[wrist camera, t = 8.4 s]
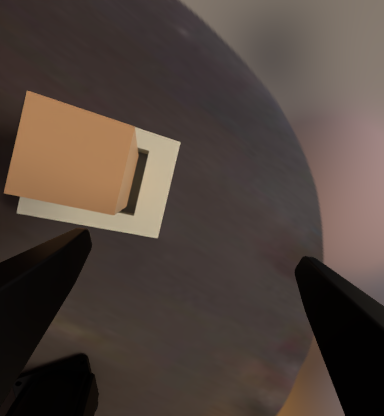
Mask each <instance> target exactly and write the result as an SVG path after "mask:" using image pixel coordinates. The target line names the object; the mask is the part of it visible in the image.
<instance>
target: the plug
mask: <svg viewBox="0 0 384 416" xmlns="http://www.w3.org/2000/svg"><path fill="white" fill-rule="evenodd" d="M138 156H139V155H138V147H137V139H136V131H135V127H134V126H131V125H128V124H125V123H122V122H119V121H116V120H113V119H110V118H107V117H104V116H102V115H99V114H96V113H93V112H90V111H87V110H84V109H81V108H78V107H75V106H72V105H69V104H66V103H63V102H60V101H57V100H54V99H51V98H48V97H45V96H42V95H39V94H36V93H33V92H30V91H27V94H26V98H25V102H24V107H23V111H22V115H21V120H20V124H19V128H18V133H17V137H16V141H15V146H14V150H13V155H12V159H11V163H10V168H9V172H8V176H7V181H6V185H5V189H4V193H5V194H10V195H15V196H20V197H25V198H30V199H35V200H40V201H45V202H50V203H55V204H60V205H65V206H69V207H74V208H79V209H84V210H89V211H94V212H99V213H104V214H109V215H115V214H117V213H118V212H119V211H121V210H122V209H124V208H125V207H126V206H127V202H128V198H129V194H130V190H131V186H132V181H133V177H134V173H135V169H136V165H137V160H138Z"/></svg>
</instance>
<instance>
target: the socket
mask: <svg viewBox="0 0 384 416" xmlns="http://www.w3.org/2000/svg"><path fill="white" fill-rule="evenodd" d="M135 131H136V139H137V147H138V155H139V156H138V160H137V165H136V169H135V173H134V177H133V181H132V186H131V190H130V194H129V198H128V202H127V206H126V207H125V208H124V209H122V210H121V211H119V212H118V213H117V214H115V215H109V214H104V213H99V212H94V211H89V210H84V209H79V208H74V207H69V206H65V205H60V204H55V203H50V202H45V201H40V200H35V199H30V198H25V197H20V200H19V204H18V209H17V213H19V214H24V215H30V216H35V217H41V218H47V219H52V220H58V221H63V222H69V223H75V224H80V225H86V226H91V227H97V228H102V229H108V230H114V231H119V232H125V233H130V234H136V235H142V236H147V237H153V238H158V235H159V230H160V226H161V222H162V218H163V214H164V209H165V205H166V201H167V197H168V193H169V188H170V184H171V180H172V176H173V172H174V167H175V163H176V159H177V155H178V150H179V146H180V142H178V141H175V140H172V139H169V138H166V137H163V136H160V135H157V134H154V133H151V132H148V131H145V130H142V129H139V128H136V127H135Z"/></svg>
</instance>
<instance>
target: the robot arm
mask: <svg viewBox="0 0 384 416" xmlns="http://www.w3.org/2000/svg"><path fill="white" fill-rule="evenodd" d="M91 248H92V242H91V237H90V232H89V230H88V229H85V228H75V229H73V230H71V231H69V232H66V233H64V234H62V235H60V236H58V237H56V238H53V239H51V240H49V241H47V242H45V243H42V244H40V245H38V246H36V247H34V248H31V249H29V250H27V251H25V252H23V253H20V254H18V255H16V256H14V257H12V258H9V259H7V260H5V261H3V262H1V263H0V406H1V404H2V403H3V401H4V400H5V398H6V396H7V395H8V393H9V391H10V390H11V388H12V387H13V390H14V394H15V397H16V399H15V401H14V402H13V404H12V405H11V407H10V409H9V410H8V412H7V413H6V415H5V416H94V413H95V411H96V410H97V407H98V396H99V393H98V388H97V384H96V379H95V375H94V374H93V373H91V368H90V364H89V359H88V356H87V355H81V356H77V357H74V358H71V359H68V360H65V361H62V362H59V363H56V364H53V365H50V366H46V367H43V368H40V369H37V370H34V371H31V372H28V373H25V374H22V375H20V373H21V372H22V370H23V368H24V367H25V365H26V363H27V362H28V360H29V358H30V357H31V355H32V353H33V352H34V350H35V348H36V347H37V345H38V344H39V342H40V340H41V339H42V337H43V335H44V334H45V332H46V330H47V329H48V327H49V325H50V324H51V322H52V321H53V319H54V317H55V316H56V314H57V312H58V311H59V309H60V307H61V306H62V304H63V302H64V301H65V299H66V297H67V296H68V294H69V293H70V291H71V289H72V287H73V286H74V284H75V282H76V280H77V278H78V276H79V274H80V272H81V270H82V268H83V265H84V263H85V261H86V259H87V257H88V255H89V253H90V251H91ZM295 277H296V281H297V284H298V288H299V292H300V295H301V299H302V302H303V306H304V309H305V312H306V315H307V318H308V320H309V323H310V325H311V328H312V331H313V333H314V336H315V338H316V341H317V344H318V346H319V349H320V351H321V354H322V357H323V359H324V362H325V364H326V367H327V370H328V372H329V375H330V377H331V380H332V383H333V385H334V388H335V390H336V393H337V396H338V398H339V401H340V403H341V406H342V409H343V411H344V414H345V416H384V306H383V305H381V304H380V303H378V302H377V301H376V300H374V299H373V298H371V297H370V296H368V295H367V294H366V293H364V292H363V291H361V290H360V289H359V288H357V287H356V286H354V285H353V284H351V283H350V282H349V281H347V280H346V279H344V278H343V277H341V276H340V275H339V274H337V273H336V272H334V271H333V270H332V269H330V268H329V267H327V266H326V265H325V264H323V263H322V262H320V261H319V260H318V259H316V258H314V257H308V256H304V257H302V259H301V260H300V262H299V264H298V265H297V267H296V268H295ZM81 360H83V362H82V361H81ZM19 381H21V382H19Z"/></svg>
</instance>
